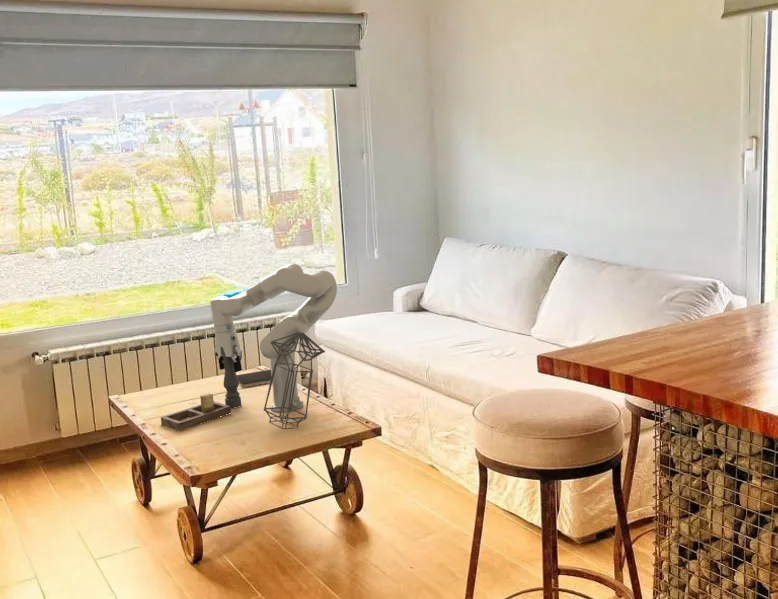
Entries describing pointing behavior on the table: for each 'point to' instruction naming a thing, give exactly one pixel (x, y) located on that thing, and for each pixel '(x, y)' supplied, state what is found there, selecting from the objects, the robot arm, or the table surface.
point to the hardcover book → (254, 378)
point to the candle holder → (230, 382)
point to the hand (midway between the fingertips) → (230, 370)
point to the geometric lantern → (306, 339)
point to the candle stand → (196, 414)
